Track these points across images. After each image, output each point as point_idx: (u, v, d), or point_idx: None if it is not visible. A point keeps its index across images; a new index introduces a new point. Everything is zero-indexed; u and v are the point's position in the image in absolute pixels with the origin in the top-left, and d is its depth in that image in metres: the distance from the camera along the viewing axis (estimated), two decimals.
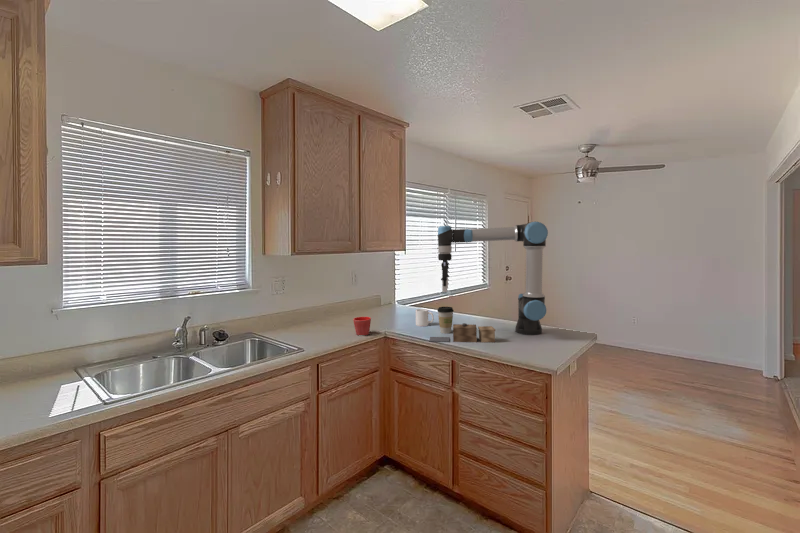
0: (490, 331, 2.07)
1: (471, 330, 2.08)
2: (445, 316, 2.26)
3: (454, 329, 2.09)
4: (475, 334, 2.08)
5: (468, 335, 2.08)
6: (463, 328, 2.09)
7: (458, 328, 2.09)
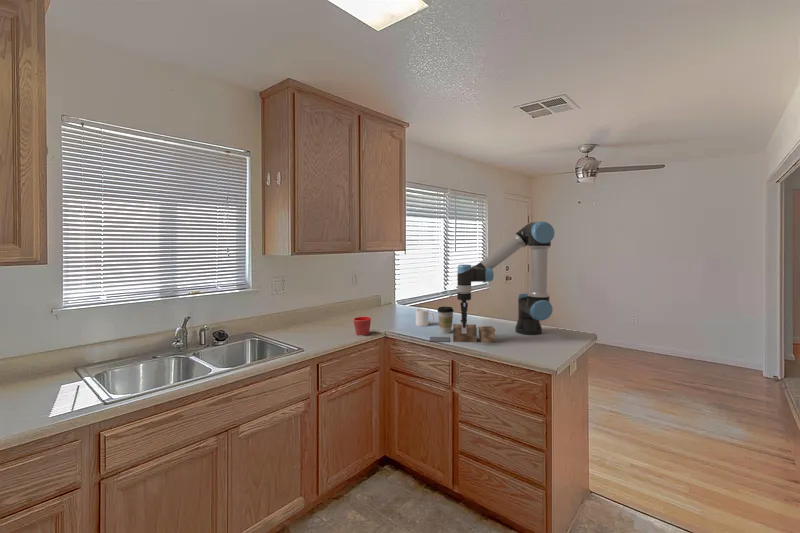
0: (490, 331, 2.07)
1: (471, 330, 2.08)
2: (445, 316, 2.26)
3: (454, 329, 2.09)
4: (475, 334, 2.08)
5: (468, 335, 2.08)
6: None
7: (458, 328, 2.09)
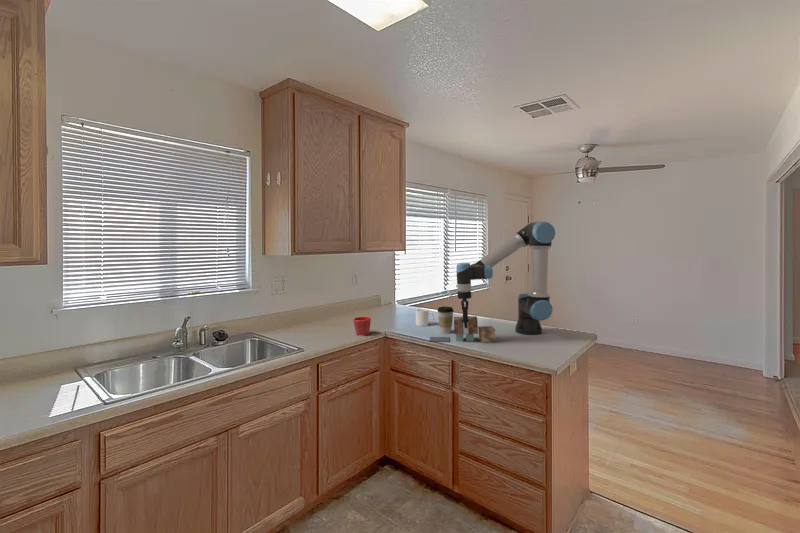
0: (490, 331, 2.07)
1: (472, 322, 2.08)
2: (445, 316, 2.26)
3: (455, 321, 2.09)
4: (476, 326, 2.08)
5: (469, 327, 2.08)
6: None
7: (459, 320, 2.09)
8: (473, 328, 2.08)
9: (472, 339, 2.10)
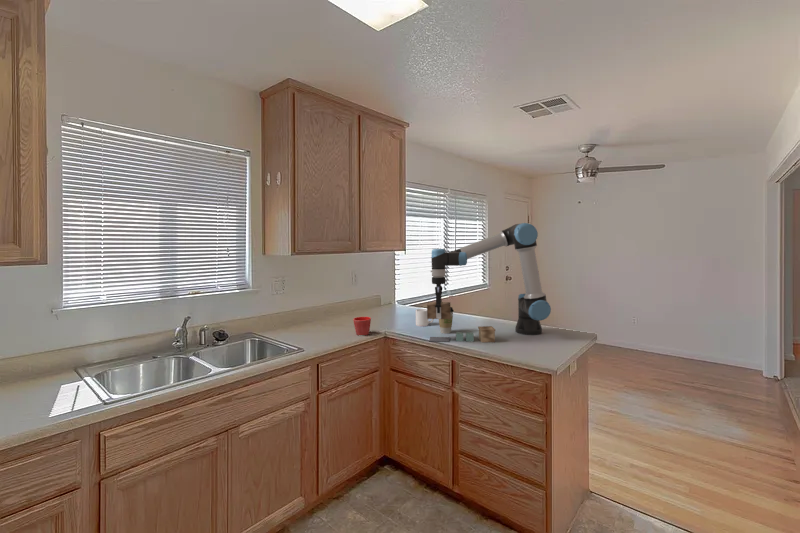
0: (490, 331, 2.07)
1: (445, 307, 2.09)
2: None
3: (428, 306, 2.10)
4: (449, 311, 2.09)
5: (442, 312, 2.10)
6: None
7: (432, 305, 2.10)
8: (446, 313, 2.09)
9: (472, 339, 2.10)
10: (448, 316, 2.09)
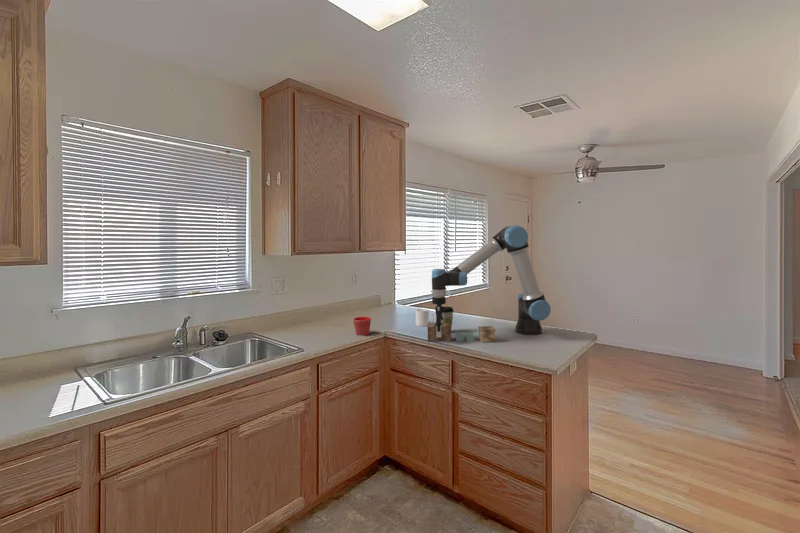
0: (490, 331, 2.07)
1: (446, 329, 2.10)
2: (445, 316, 2.26)
3: (428, 328, 2.11)
4: (449, 333, 2.10)
5: (442, 334, 2.11)
6: None
7: (432, 327, 2.11)
8: (446, 335, 2.10)
9: (472, 339, 2.10)
10: (448, 338, 2.10)
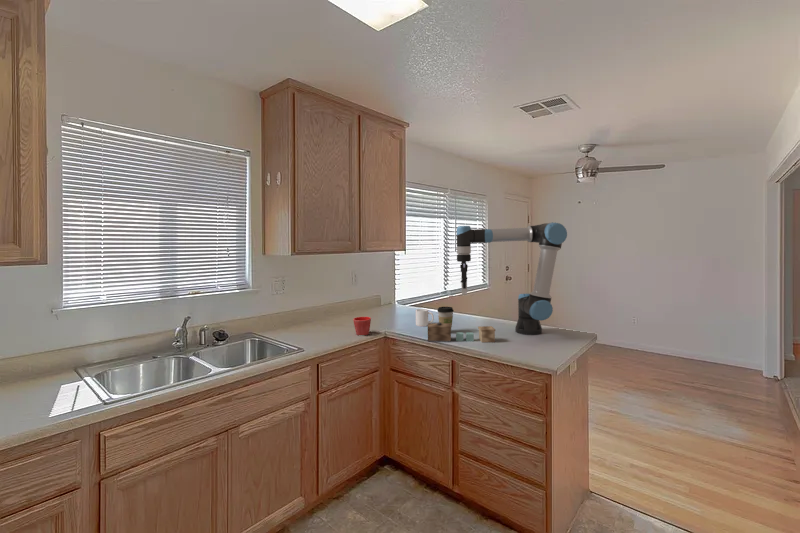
0: (490, 331, 2.07)
1: (446, 329, 2.10)
2: (445, 316, 2.26)
3: (428, 328, 2.11)
4: (449, 333, 2.10)
5: (442, 334, 2.11)
6: (437, 327, 2.11)
7: (432, 327, 2.11)
8: (446, 335, 2.10)
9: (472, 339, 2.10)
10: (448, 338, 2.10)
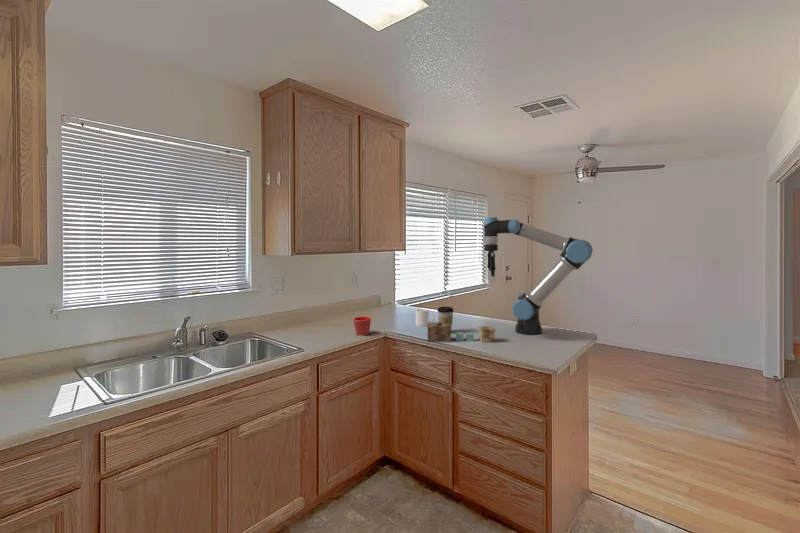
0: (490, 331, 2.07)
1: (446, 329, 2.10)
2: (445, 316, 2.26)
3: (428, 328, 2.11)
4: (449, 333, 2.10)
5: (442, 334, 2.11)
6: (437, 327, 2.11)
7: (432, 327, 2.11)
8: (446, 335, 2.10)
9: (472, 339, 2.10)
10: (448, 338, 2.10)
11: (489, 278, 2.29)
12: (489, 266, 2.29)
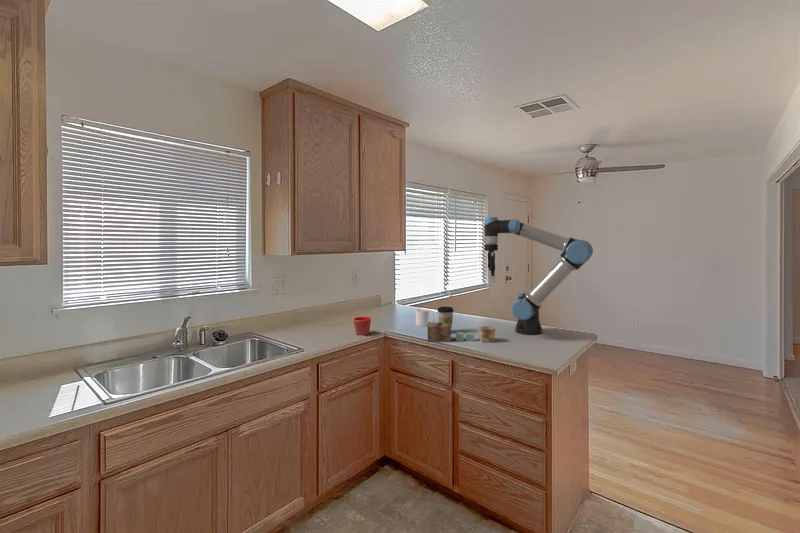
0: (490, 331, 2.07)
1: (446, 329, 2.10)
2: (445, 316, 2.26)
3: (428, 328, 2.11)
4: (449, 333, 2.10)
5: (442, 334, 2.11)
6: (437, 327, 2.11)
7: (432, 327, 2.11)
8: (446, 335, 2.10)
9: (472, 339, 2.10)
10: (448, 338, 2.10)
11: (489, 278, 2.29)
12: (489, 266, 2.30)
